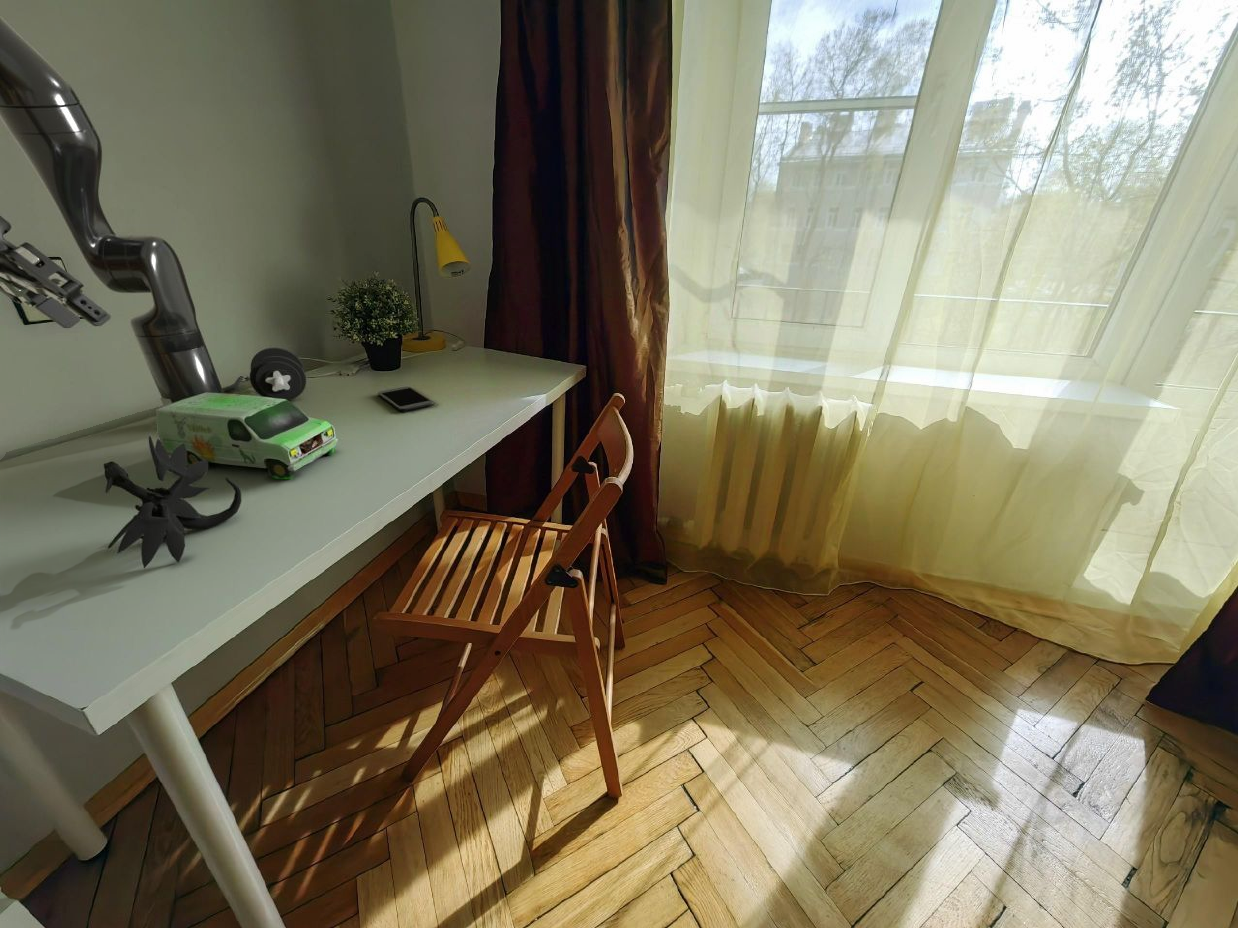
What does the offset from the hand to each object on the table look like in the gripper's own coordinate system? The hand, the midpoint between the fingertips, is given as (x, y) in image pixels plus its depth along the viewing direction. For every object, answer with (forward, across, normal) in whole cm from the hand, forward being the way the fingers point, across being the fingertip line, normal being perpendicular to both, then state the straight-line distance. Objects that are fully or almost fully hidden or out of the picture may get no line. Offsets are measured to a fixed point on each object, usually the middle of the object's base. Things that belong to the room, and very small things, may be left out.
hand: (88, 323), depth 66 cm
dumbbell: (+35, +20, -19) cm, 44 cm away
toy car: (+26, -6, +3) cm, 27 cm away
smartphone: (+42, -7, -25) cm, 49 cm away
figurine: (+18, -22, +21) cm, 35 cm away
